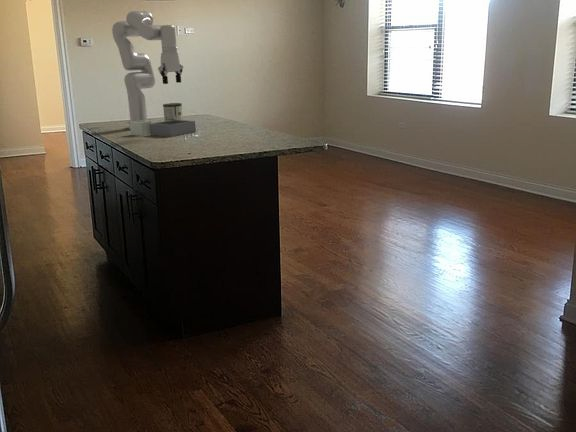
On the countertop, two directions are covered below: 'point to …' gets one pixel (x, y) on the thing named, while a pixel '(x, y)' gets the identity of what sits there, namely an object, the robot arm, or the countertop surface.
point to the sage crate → (140, 128)
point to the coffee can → (172, 111)
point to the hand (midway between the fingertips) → (172, 83)
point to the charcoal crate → (172, 128)
